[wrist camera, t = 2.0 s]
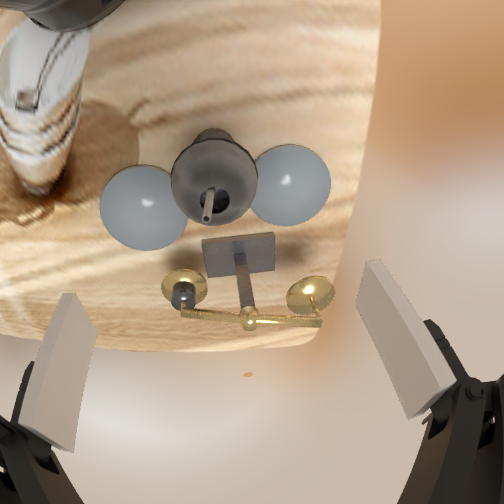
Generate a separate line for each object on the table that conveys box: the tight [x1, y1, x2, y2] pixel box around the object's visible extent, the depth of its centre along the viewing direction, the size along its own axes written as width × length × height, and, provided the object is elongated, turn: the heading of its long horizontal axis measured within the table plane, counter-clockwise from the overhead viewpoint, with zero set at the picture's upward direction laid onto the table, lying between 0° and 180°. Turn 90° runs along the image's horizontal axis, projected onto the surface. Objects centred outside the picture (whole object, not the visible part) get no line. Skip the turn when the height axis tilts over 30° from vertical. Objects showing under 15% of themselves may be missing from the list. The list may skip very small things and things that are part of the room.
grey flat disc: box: [100, 165, 188, 251], centre depth 35 cm, size 12×12×1 cm
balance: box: [161, 232, 335, 331], centre depth 35 cm, size 6×21×15 cm, turn 93°
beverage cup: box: [171, 128, 258, 226], centre depth 24 cm, size 7×7×20 cm
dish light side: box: [251, 145, 331, 226], centre depth 36 cm, size 11×11×1 cm
